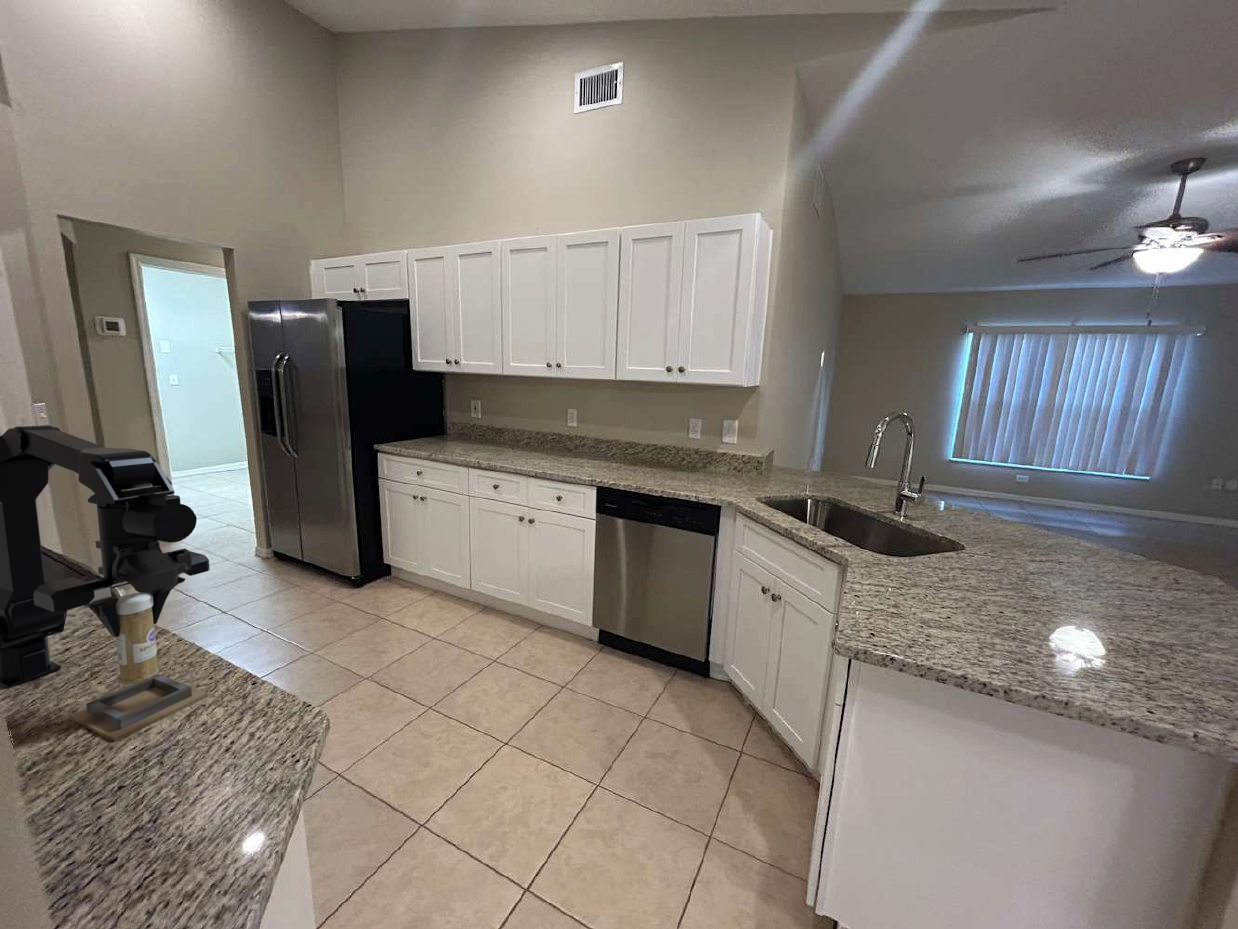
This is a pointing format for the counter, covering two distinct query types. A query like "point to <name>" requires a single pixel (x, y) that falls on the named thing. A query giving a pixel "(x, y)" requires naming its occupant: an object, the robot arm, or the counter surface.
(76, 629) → the counter surface
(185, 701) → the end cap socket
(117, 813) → the counter surface
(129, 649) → the sprinkles bottle
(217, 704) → the counter surface
